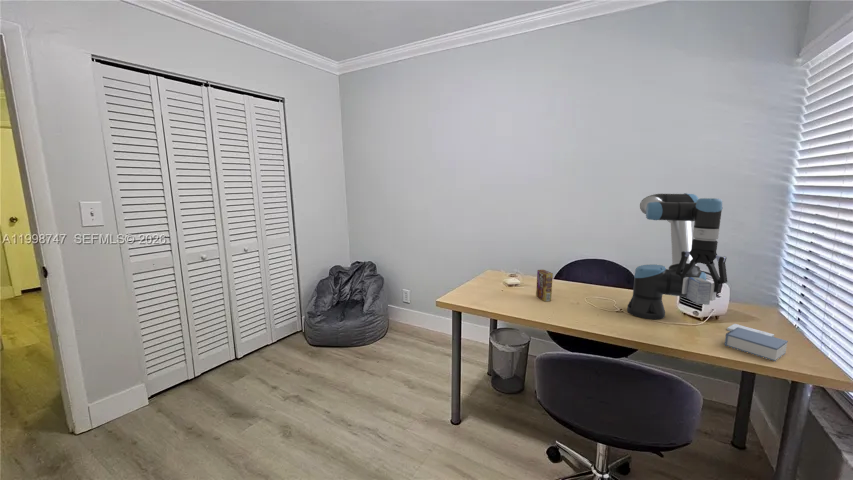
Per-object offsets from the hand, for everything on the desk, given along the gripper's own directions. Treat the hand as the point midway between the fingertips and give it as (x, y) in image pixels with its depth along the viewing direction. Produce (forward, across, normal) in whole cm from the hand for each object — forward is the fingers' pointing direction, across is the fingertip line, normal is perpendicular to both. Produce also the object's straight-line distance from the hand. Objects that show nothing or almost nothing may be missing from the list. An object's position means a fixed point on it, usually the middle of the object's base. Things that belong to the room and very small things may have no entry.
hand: (698, 296), depth 133 cm
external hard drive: (+18, +8, +26) cm, 33 cm away
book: (+18, +15, +10) cm, 26 cm away
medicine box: (+2, 0, 0) cm, 2 cm away
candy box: (+17, -64, -14) cm, 68 cm away
